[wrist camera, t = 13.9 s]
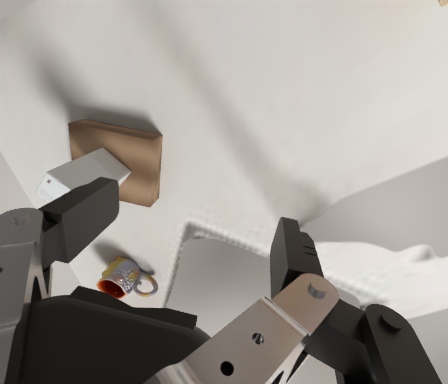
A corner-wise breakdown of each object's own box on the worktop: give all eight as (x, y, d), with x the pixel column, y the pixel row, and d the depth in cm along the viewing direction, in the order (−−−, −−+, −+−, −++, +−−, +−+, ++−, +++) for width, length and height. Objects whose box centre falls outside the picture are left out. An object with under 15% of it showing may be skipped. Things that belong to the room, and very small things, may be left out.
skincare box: (91, 163, 42) (30, 193, 31) (104, 145, 40) (44, 169, 29) (120, 188, 43) (71, 225, 32) (134, 170, 41) (87, 204, 30)
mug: (111, 273, 58) (93, 295, 52) (114, 251, 55) (95, 272, 49) (160, 290, 58) (147, 315, 52) (165, 269, 55) (153, 293, 49)
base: (84, 119, 43) (68, 123, 40) (162, 135, 42) (152, 140, 39) (89, 182, 48) (75, 190, 45) (158, 197, 47) (150, 207, 44)
